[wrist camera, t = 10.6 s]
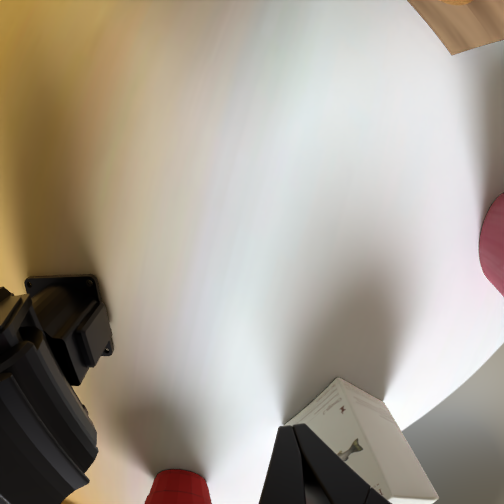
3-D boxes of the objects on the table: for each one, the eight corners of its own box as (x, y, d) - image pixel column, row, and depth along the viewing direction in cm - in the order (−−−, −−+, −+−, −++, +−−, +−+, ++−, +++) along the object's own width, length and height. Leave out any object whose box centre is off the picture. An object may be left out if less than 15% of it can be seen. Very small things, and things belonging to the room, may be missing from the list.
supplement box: (336, 373, 24) (396, 495, 12) (385, 401, 26) (442, 498, 14) (278, 425, 25) (305, 545, 13) (331, 446, 27) (366, 545, 15)
